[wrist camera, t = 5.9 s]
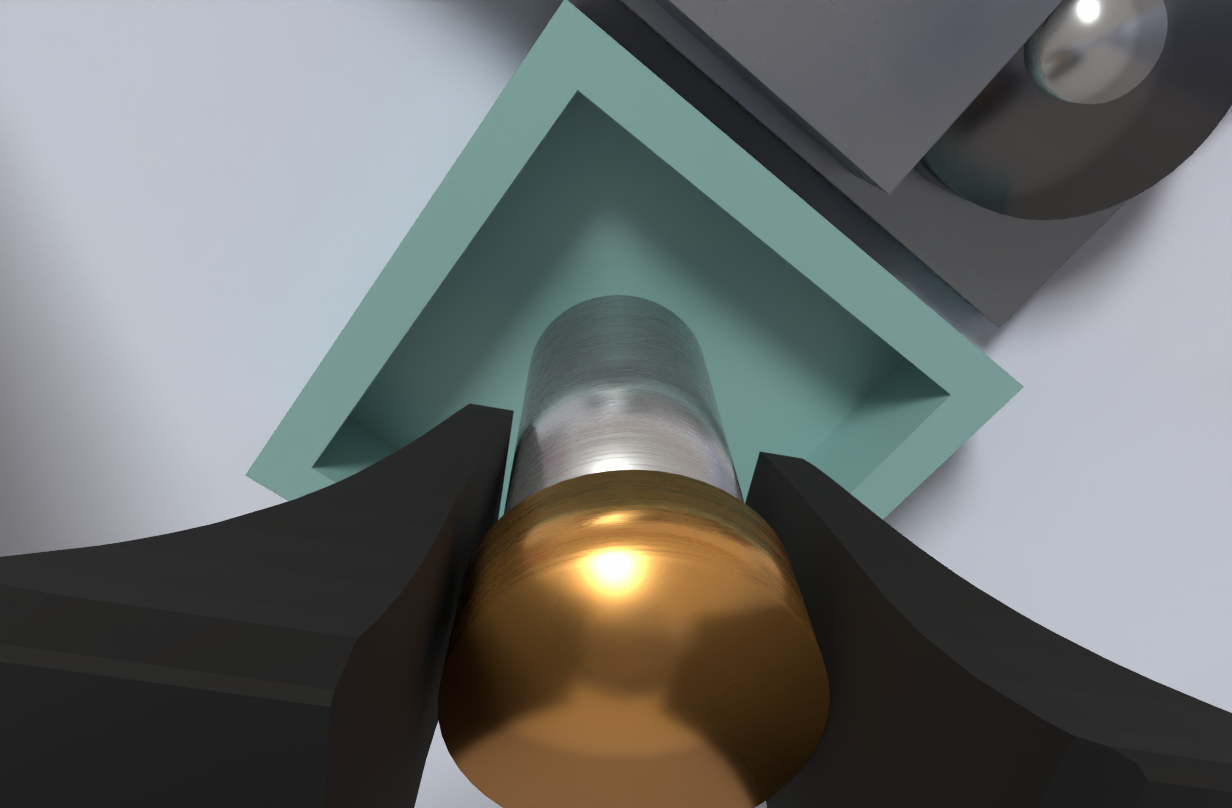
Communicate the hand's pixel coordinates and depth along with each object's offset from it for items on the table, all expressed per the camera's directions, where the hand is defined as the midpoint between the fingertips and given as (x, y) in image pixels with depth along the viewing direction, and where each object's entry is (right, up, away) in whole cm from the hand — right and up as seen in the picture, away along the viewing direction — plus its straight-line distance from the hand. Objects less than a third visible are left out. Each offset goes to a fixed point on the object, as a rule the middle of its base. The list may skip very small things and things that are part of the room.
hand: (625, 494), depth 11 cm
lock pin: (0, +2, +2) cm, 3 cm away
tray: (0, +2, +4) cm, 4 cm away
